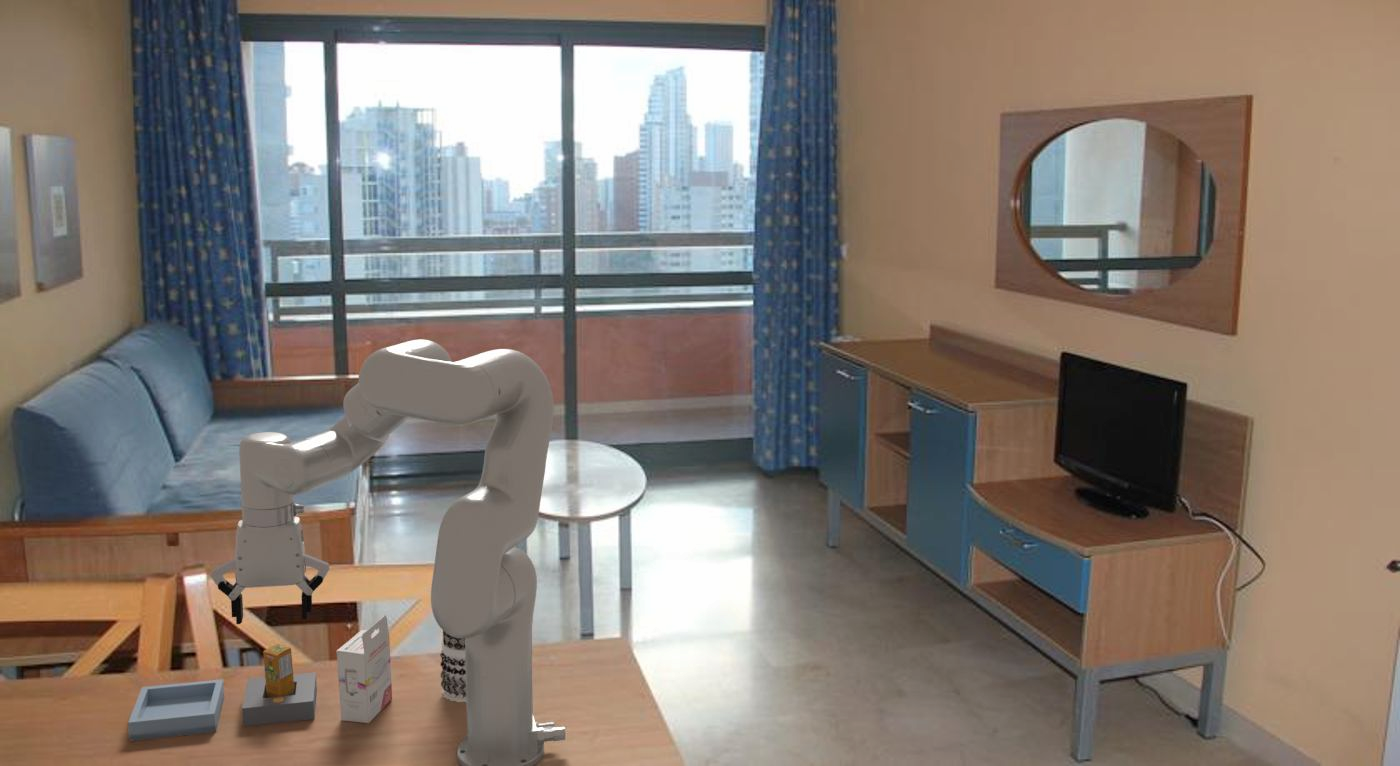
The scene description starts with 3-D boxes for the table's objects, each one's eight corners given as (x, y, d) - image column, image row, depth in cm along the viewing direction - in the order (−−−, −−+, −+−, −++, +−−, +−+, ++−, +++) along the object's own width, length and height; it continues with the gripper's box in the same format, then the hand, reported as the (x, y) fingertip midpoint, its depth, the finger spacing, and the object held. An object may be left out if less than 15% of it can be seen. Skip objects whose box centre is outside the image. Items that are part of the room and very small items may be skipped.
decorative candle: (448, 676, 203) (444, 534, 198) (502, 680, 202) (500, 537, 197) (431, 701, 194) (426, 553, 189) (488, 705, 193) (484, 556, 188)
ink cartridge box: (364, 696, 196) (360, 610, 193) (393, 699, 195) (389, 613, 192) (338, 721, 187) (334, 632, 184) (368, 724, 186) (364, 635, 183)
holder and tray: (317, 687, 198) (316, 669, 198) (314, 721, 187) (313, 702, 186) (143, 704, 192) (141, 685, 191) (129, 741, 180) (127, 721, 180)
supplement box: (265, 709, 191) (261, 650, 189) (281, 700, 194) (278, 642, 192) (280, 714, 189) (276, 654, 187) (297, 705, 192) (293, 646, 190)
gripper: (328, 503, 191) (331, 605, 194) (210, 508, 186) (216, 613, 190) (327, 518, 184) (330, 624, 187) (204, 524, 179) (210, 632, 183)
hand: (272, 618), depth 188 cm, fingers open, 9 cm apart
